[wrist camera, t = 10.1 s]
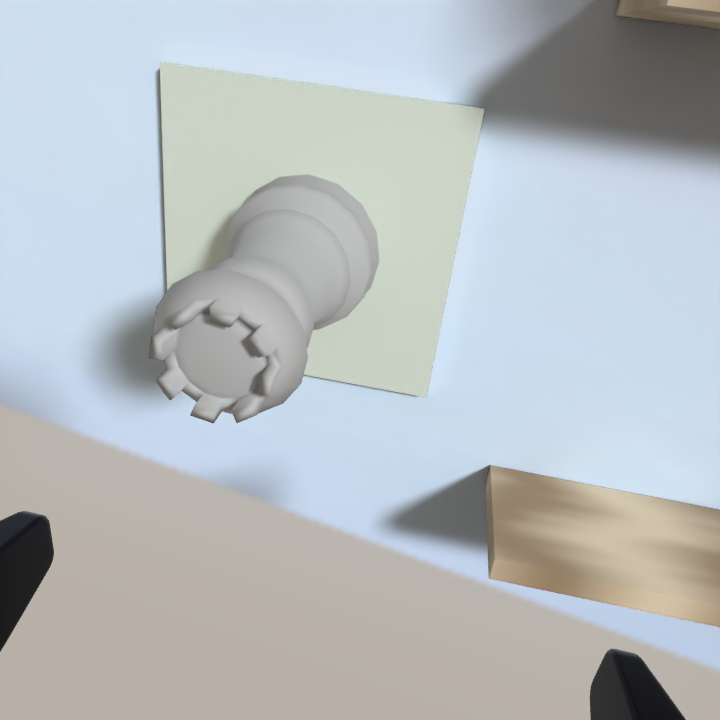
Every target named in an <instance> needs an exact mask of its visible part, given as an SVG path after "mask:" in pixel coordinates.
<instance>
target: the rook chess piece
mask: <svg viewBox="0 0 720 720" xmlns="http://www.w3.org/2000/svg"><path fill="white" fill-rule="evenodd" d="M224 257H225V260H224V261H222V262H220V263H219V264H217V265H215V266H213V267H211V268H209V269H208V270H207V271H196V272H194V273H192V274H191V275H189V276H187V277H185V278H183V279H181V280H179V281H178V282H176V283H174V284H172V285H171V286H170V288H169V289H168V291H167V292H166V294H165V295H164V297H163V298H162V300H161V301H160V303H159V304H158V305H157V307H156V314H155V322H154V329H153V335H152V336H151V344H150V352H149V358H152V359H158V360H160V361H161V363H162V365H163V366H164V368H165V371H164V372H163V373H162V374H161V375H160V376H159V377H158V378H157V379H156V380H155V381H156V382H157V384H158V385H159V386H160V388H161V389H162V391H163V392H164V393H165V395H166V396H167V397H168V399H169V400H171V399H172V398H174V397H175V396H176V395H178V394H179V393H180V392H181V391H183V392H184V393H185V394H187V395H188V396H190V397H191V398H192V399H194V400H195V401H196V402H197V403H196V404H195V406H194V408H193V410H192V412H191V416H194V417H197V418H200V419H202V420H205V421H208V422H211V423H214V422H215V420H216V419H217V417H218V416H219V414H220V413H221V412H222V411H223V412H227V413H233V416H234V418H235V420H236V422H237V423H238V422H241V421H243V420H246V419H248V418H250V417H253V416H255V415H257V414H258V413H261V412H263V411H265V410H268V409H270V408H273V407H275V406H278V405H280V404H282V403H284V402H285V401H286V400H287V399H288V397H289V396H290V395H291V394H292V393H293V392H294V391H295V390H296V389H297V388H298V386H299V385H300V384H301V382H302V378H303V374H304V371H305V367H306V364H307V360H308V354H307V348H308V346H309V342H310V339H311V335H312V331H313V330H319V329H321V328H324V327H326V326H328V325H330V324H332V323H335V322H337V321H339V320H341V319H343V318H345V317H347V316H348V315H349V314H350V313H351V311H352V310H353V309H354V308H355V307H356V306H357V305H358V304H359V303H360V301H361V300H362V299H363V298H364V297H365V294H366V293H367V291H368V290H369V289H370V288H371V286H372V283H373V280H374V277H375V274H376V271H377V267H378V264H379V261H380V260H379V250H378V240H377V231H376V229H375V228H374V226H373V224H372V222H371V220H370V218H369V216H368V214H367V212H366V210H365V209H364V207H363V205H362V204H361V203H360V202H359V201H358V200H356V199H355V198H354V197H353V196H352V195H351V194H349V193H348V192H347V191H346V190H345V189H344V188H342V187H341V186H340V185H339V184H337V183H334V182H331V181H328V180H325V179H322V178H319V177H316V176H313V175H310V174H306V175H294V176H283V177H278V178H276V179H275V180H273V181H271V182H269V183H267V184H266V185H264V186H262V187H260V188H259V189H257V190H255V191H254V192H253V194H252V195H251V197H250V198H248V199H247V200H246V201H245V202H244V204H243V205H242V207H241V208H240V209H239V211H238V212H237V214H236V215H235V217H234V218H233V219H232V221H231V222H230V226H229V230H228V236H227V241H226V247H225V252H224Z"/></svg>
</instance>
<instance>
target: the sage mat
mask: <svg viewBox="0 0 720 720" xmlns="http://www.w3.org/2000/svg"><path fill="white" fill-rule="evenodd" d="M160 86H161V116H162V147H163V178H164V208H165V239H166V270H167V291H168V289H169V288H170V286H171V285H172V284H174V283H176V282H178V281H179V280H181V279H183V278H185V277H187V276H189V275H191V274H192V273H194V272H196V271H207V270H208V269H209V268H211V267H213V266H215V265H217V264H219V263H220V262H222V261H224V260H225V257H224V252H225V247H226V241H227V236H228V230H229V226H230V222H231V221H232V219H233V218H234V217H235V215H236V214H237V212H238V211H239V209H240V208H241V207H242V205H243V204H244V202H245V201H246V200H247V199H248V198H250V197H251V195H252V194H253V192H254V191H255V190H257V189H259V188H260V187H262V186H264V185H266V184H267V183H269V182H271V181H273V180H275V179H276V178H278V177H283V176H294V175H306V174H310V175H313V176H316V177H319V178H322V179H325V180H328V181H331V182H334V183H337V184H339V185H340V186H341V187H342V188H344V189H345V190H346V191H347V192H348V193H349V194H351V195H352V196H353V197H354V198H355V199H356V200H358V201H359V202H360V203H361V204H362V205H363V207H364V209H365V210H366V212H367V214H368V216H369V218H370V220H371V222H372V224H373V226H374V228H375V229H376V231H377V240H378V250H379V260H380V261H379V264H378V267H377V271H376V274H375V277H374V280H373V283H372V286H371V288H370V289H369V290H368V291H367V293H366V294H365V297H364V298H363V299H362V300H361V301H360V303H359V304H358V305H357V306H356V307H355V308H354V309H353V310H352V311H351V313H350V314H349V315H348V316H347V317H345V318H343V319H341V320H339V321H337V322H335V323H332V324H330V325H328V326H326V327H324V328H321V329H319V330H313V331H312V335H311V339H310V342H309V346H308V348H307V354H308V360H307V364H306V367H305V371H304V374H303V375H308V376H314V377H319V378H324V379H330V380H335V381H340V382H346V383H351V384H356V385H362V386H367V387H372V388H378V389H383V390H389V391H394V392H399V393H405V394H410V395H415V396H421V397H427V392H428V387H429V383H430V378H431V373H432V368H433V363H434V358H435V353H436V348H437V343H438V338H439V333H440V328H441V323H442V318H443V313H444V308H445V303H446V298H447V293H448V288H449V283H450V278H451V273H452V268H453V264H454V259H455V254H456V249H457V244H458V239H459V234H460V229H461V224H462V219H463V214H464V209H465V204H466V199H467V194H468V189H469V184H470V179H471V174H472V169H473V164H474V159H475V154H476V150H477V145H478V140H479V135H480V130H481V125H482V120H483V115H484V110H485V109H484V108H480V107H473V106H466V105H459V104H452V103H445V102H438V101H431V100H424V99H417V98H410V97H403V96H397V95H390V94H383V93H376V92H369V91H362V90H355V89H348V88H341V87H334V86H327V85H321V84H314V83H307V82H300V81H293V80H286V79H279V78H272V77H265V76H258V75H251V74H245V73H238V72H231V71H224V70H217V69H210V68H203V67H196V66H189V65H182V64H175V63H169V62H160Z"/></svg>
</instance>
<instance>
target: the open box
mask: <svg viewBox="0 0 720 720" xmlns="http://www.w3.org/2000/svg"><path fill="white" fill-rule="evenodd" d="M615 16H622V17H630V18H637V19H645V20H653V21H660V22H668V23H676V24H684V25H691V26H699V27H707V28H715V29H720V0H620V1H619V4H618V8H617V11H616V15H615ZM486 509H487V539H488V568H489V579H493V580H498V581H503V582H508V583H512V584H517V585H522V586H527V587H531V588H536V589H541V590H546V591H550V592H555V593H560V594H565V595H569V596H574V597H579V598H584V599H588V600H593V601H598V602H603V603H607V604H612V605H617V606H622V607H627V608H631V609H636V610H641V611H646V612H650V613H655V614H660V615H665V616H669V617H674V618H679V619H684V620H688V621H693V622H698V623H703V624H707V625H712V626H717V627H720V510H717V509H712V508H707V507H702V506H697V505H692V504H686V503H681V502H676V501H671V500H666V499H661V498H656V497H650V496H645V495H640V494H635V493H630V492H625V491H620V490H614V489H609V488H604V487H599V486H594V485H589V484H584V483H578V482H573V481H568V480H563V479H558V478H553V477H548V476H542V475H537V474H532V473H527V472H522V471H517V470H512V469H506V468H501V467H496V466H491V465H490V469H489V472H488V476H487V480H486Z"/></svg>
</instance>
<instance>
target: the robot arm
mask: <svg viewBox="0 0 720 720" xmlns="http://www.w3.org/2000/svg"><path fill="white" fill-rule="evenodd" d="M53 555H54V550H53V543H52V537H51V530H50V523H49V520H48V519H47V517H46V516H44V515H40V514H36V513H31V512H26V511H23V512H18V513H16V514H14V515H12V516H9V517H7V518H5V519H3V520H1V521H0V651H1V650H2V648H3V646H4V645H5V643H6V641H7V640H8V638H9V636H10V635H11V633H12V631H13V630H14V628H15V626H16V624H17V623H18V621H19V619H20V618H21V616H22V614H23V612H24V611H25V609H26V607H27V606H28V604H29V602H30V600H31V599H32V597H33V595H34V593H35V592H36V590H37V588H38V587H39V585H40V583H41V581H42V580H43V578H44V576H45V575H46V573H47V571H48V569H49V568H50V566H51V563H52V560H53ZM590 712H591V720H686V719H685V718H684V716H683V715H682V714H681V712H680V711H679V710H678V708H677V707H676V705H675V704H674V703H673V701H672V700H671V699H670V697H669V696H668V694H667V693H666V692H665V690H664V689H663V688H662V686H661V685H660V683H659V682H658V681H657V679H656V678H655V676H654V675H653V674H652V672H651V671H650V670H649V668H648V667H647V665H646V664H645V662H644V661H643V660H642V659H641V658H640V657H639V656H638V655H636V654H634V653H630V652H626V651H621V650H617V649H610V650H608V651H607V653H606V654H605V656H604V658H603V660H602V663H601V665H600V667H599V669H598V671H597V673H596V675H595V677H594V679H593V682H592V685H591V690H590Z"/></svg>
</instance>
